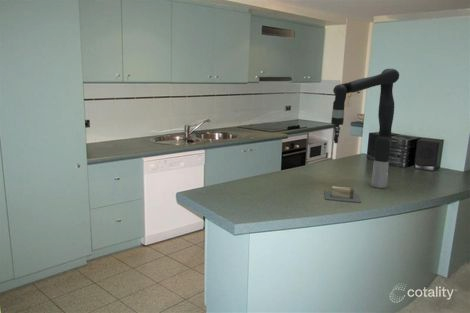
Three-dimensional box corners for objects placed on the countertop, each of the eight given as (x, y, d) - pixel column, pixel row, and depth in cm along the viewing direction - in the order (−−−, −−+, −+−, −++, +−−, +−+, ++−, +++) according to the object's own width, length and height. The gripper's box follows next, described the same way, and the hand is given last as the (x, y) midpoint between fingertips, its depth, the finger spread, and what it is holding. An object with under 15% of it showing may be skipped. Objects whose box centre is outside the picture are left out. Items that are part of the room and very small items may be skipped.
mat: (358, 195, 243) (358, 194, 243) (361, 203, 229) (361, 202, 229) (324, 192, 247) (324, 191, 247) (325, 199, 233) (325, 198, 233)
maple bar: (331, 194, 241) (332, 186, 240) (352, 196, 239) (353, 188, 238) (331, 196, 237) (332, 188, 236) (353, 198, 235) (353, 190, 234)
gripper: (331, 115, 264) (329, 139, 267) (332, 117, 250) (329, 143, 254) (343, 115, 263) (341, 140, 266) (344, 118, 249) (342, 144, 252)
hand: (335, 141), depth 260 cm, fingers open, 8 cm apart
